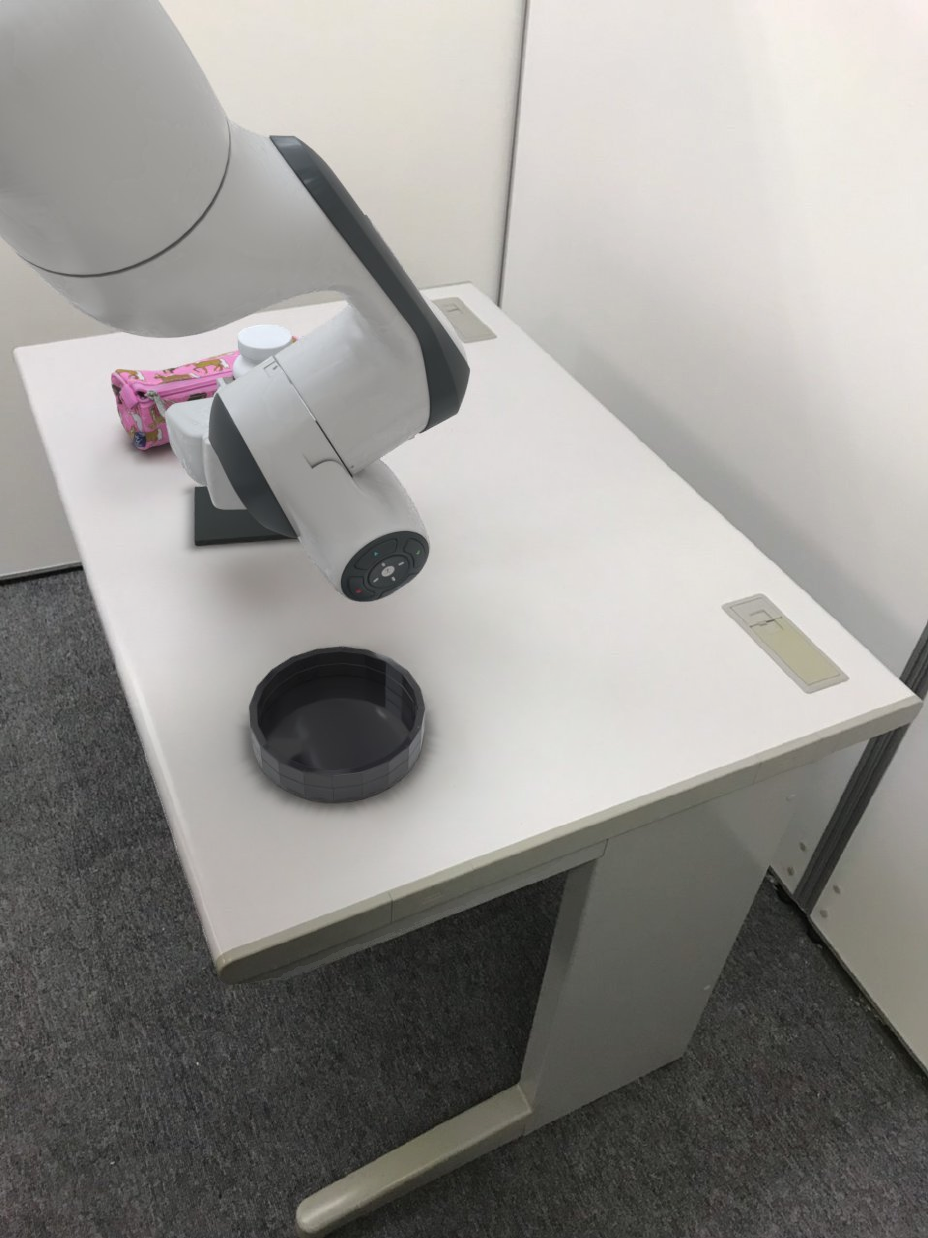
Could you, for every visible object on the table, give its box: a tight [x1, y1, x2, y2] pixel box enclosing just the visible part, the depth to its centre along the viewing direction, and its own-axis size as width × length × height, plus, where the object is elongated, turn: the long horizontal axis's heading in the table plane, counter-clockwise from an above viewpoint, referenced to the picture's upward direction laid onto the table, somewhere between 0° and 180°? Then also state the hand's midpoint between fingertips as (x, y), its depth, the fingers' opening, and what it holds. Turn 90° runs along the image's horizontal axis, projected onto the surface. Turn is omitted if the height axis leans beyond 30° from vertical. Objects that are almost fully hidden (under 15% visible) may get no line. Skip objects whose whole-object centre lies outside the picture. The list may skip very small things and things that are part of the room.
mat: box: [194, 485, 293, 546], centre depth 97 cm, size 16×9×1 cm, turn 101°
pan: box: [248, 645, 426, 803], centre depth 75 cm, size 13×13×3 cm
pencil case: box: [110, 335, 300, 451], centre depth 105 cm, size 21×9×9 cm, turn 121°
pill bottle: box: [233, 323, 293, 384], centre depth 88 cm, size 6×6×11 cm
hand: (265, 377), depth 88 cm, fingers closed on pill bottle, 6 cm apart
